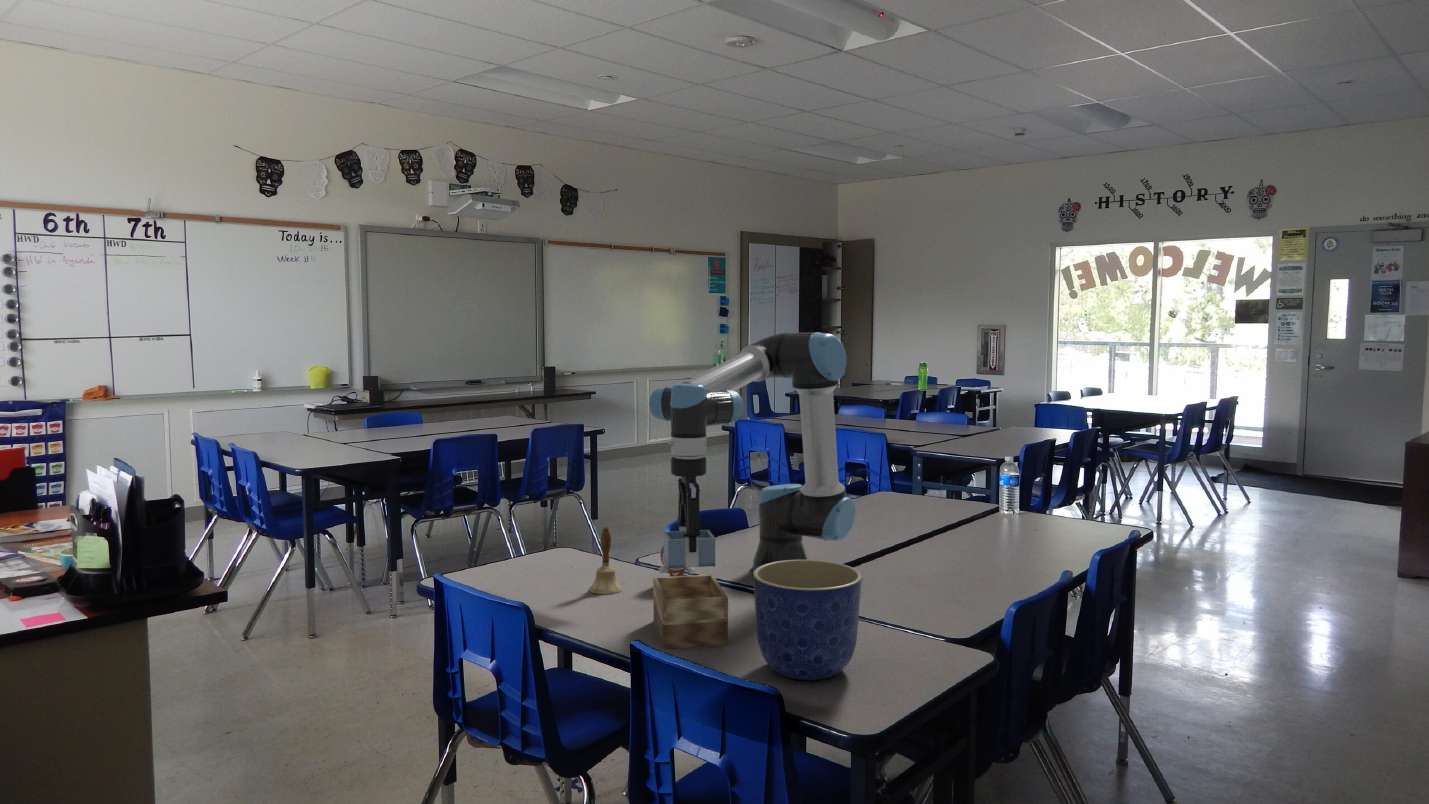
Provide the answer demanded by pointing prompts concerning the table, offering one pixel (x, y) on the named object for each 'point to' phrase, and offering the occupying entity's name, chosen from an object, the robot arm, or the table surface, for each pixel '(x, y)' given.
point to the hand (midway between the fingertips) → (688, 561)
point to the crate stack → (690, 611)
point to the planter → (807, 616)
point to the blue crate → (676, 549)
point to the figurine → (674, 571)
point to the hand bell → (605, 570)
